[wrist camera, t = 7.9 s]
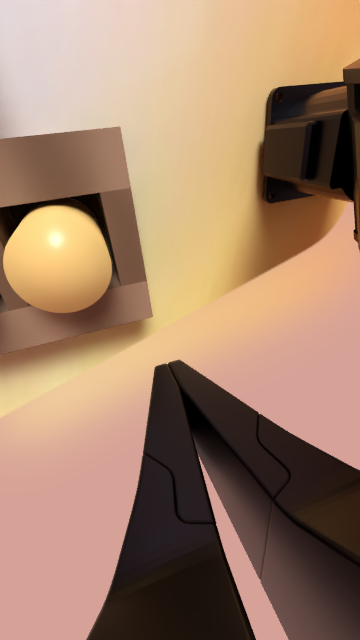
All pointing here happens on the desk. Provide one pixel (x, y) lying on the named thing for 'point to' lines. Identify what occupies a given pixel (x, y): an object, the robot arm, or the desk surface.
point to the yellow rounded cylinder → (58, 257)
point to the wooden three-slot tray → (118, 216)
